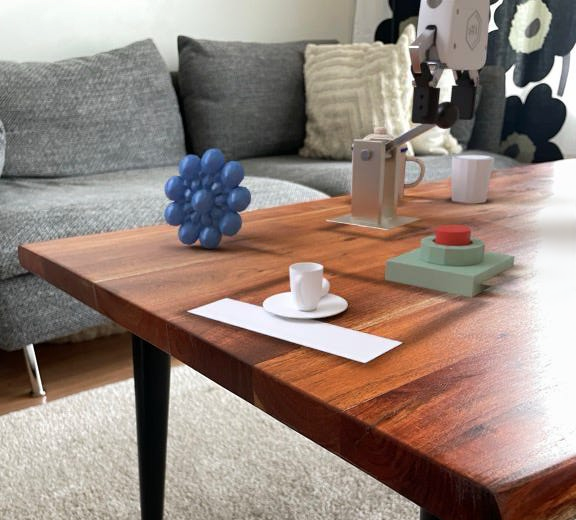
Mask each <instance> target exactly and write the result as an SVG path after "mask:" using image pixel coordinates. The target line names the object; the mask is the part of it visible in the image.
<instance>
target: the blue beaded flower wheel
mask: <svg viewBox="0 0 576 520" xmlns="http://www.w3.org/2000/svg"><path fill="white" fill-rule="evenodd" d="M245 173H246V171H245V168H244V165H243V164H241V162H240V161H235V160H230V161H228V162H226V156H225V154H224V153H223V151H222V150H220V149H218V148H210V149H207V150H206V151H205V152H204V154H203V155H202V156H201V158H200V157H199V156H198V155H196V154H187V155H185V156H184V157H183V158H182V159H181V160H180V162H179V164H178V174H179V175H173V176H171V177H169V179H168V180H167V181H166V182H165V184H164V189H163V190H164V195H165V197H166V198H167V199H168V200H169V201H171V202H170V203H168V204H167V206H166V207H165V209H164V213H163V216H164V219H165V222H166V223H167V224H168V225H169V226H172V227H178V229H177V237H178V240H179V241H180V242H181V243H182V244H183V245H189V246H191V245H193V244H196V242H197V241H198V242H199V244H200V246H202V247H203V248H204V249H208V250H209V249H210V250H212V249H215V248H217V247H218V245H219V244H220V243H221V242H222V240H223V239H222V238H223V236H224V237H225V236H226V237H233V236H235V235H237V234H238V233H239V232H240V230H241V229H242V227H243V218H242V216H241V214H240V213H242V212H245V211H246V210H247V209H248V207H249V206H250V204H251V202H252V194H251V193H252V192H251V191H250V189H249V188H248V187H246V186H243V185H240V184H241V183H242V182H243V180H244V179H245Z"/></svg>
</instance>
